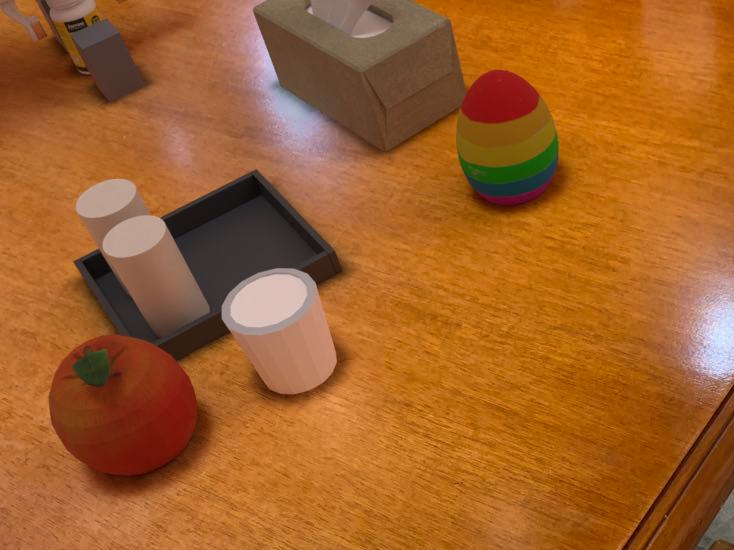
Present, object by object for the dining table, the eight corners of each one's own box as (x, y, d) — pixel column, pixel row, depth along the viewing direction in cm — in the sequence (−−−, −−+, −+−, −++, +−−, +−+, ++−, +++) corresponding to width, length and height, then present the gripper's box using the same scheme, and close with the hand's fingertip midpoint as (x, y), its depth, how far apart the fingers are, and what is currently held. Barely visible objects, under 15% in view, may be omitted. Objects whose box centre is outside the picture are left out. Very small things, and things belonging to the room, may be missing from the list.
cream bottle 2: (164, 348, 80) (114, 266, 73) (142, 317, 82) (93, 235, 76) (219, 318, 81) (175, 235, 74) (196, 289, 83) (152, 206, 77)
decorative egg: (491, 230, 83) (465, 118, 75) (453, 181, 88) (425, 70, 80) (580, 192, 84) (565, 78, 76) (538, 145, 89) (519, 33, 81)
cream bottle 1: (136, 307, 83) (86, 226, 77) (116, 279, 86) (67, 198, 79) (189, 279, 84) (144, 197, 78) (168, 252, 87) (123, 170, 81)
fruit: (194, 378, 78) (133, 274, 70) (232, 457, 73) (170, 354, 65) (75, 434, 76) (-2, 334, 68) (104, 519, 71) (24, 421, 63)
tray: (150, 381, 79) (135, 357, 76) (88, 285, 87) (72, 261, 85) (344, 276, 83) (334, 250, 80) (267, 194, 91) (256, 168, 89)
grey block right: (111, 105, 104) (81, 48, 99) (99, 90, 106) (69, 34, 102) (147, 89, 105) (119, 31, 100) (134, 74, 107) (106, 17, 103)
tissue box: (472, 105, 94) (432, -78, 82) (388, 157, 91) (333, -24, 79) (359, 43, 104) (307, -129, 92) (279, 88, 101) (215, -83, 89)
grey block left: (69, 56, 112) (40, 1, 107) (58, 43, 114) (29, -12, 109) (103, 40, 113) (75, -15, 108) (91, 28, 115) (64, -27, 110)
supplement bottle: (90, 82, 108) (47, 2, 101) (72, 68, 110) (29, -12, 104) (130, 62, 109) (90, -19, 102) (111, 48, 112) (72, -32, 105)
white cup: (239, 377, 77) (201, 307, 72) (310, 326, 80) (279, 253, 74) (292, 419, 74) (256, 348, 68) (365, 364, 76) (336, 291, 70)
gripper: (96, -181, 98) (162, -33, 110) (-108, -96, 94) (-18, 49, 105) (117, -165, 95) (183, -14, 106) (-94, -76, 91) (-2, 72, 102)
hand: (82, 18), depth 106 cm, fingers open, 8 cm apart
